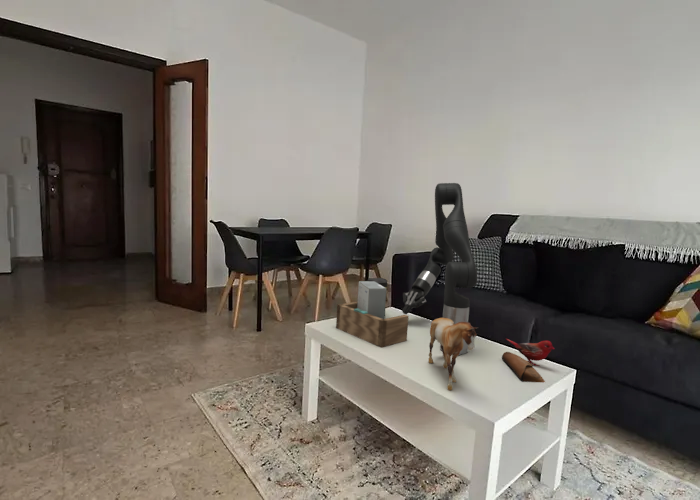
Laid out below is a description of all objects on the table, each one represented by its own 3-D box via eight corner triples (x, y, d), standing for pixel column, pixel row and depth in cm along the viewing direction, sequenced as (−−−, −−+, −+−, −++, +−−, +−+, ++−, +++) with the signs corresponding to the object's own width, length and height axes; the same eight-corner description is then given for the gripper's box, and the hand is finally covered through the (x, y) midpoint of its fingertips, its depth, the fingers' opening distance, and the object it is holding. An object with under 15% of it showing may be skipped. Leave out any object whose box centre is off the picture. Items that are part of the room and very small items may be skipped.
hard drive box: (383, 337, 160) (387, 288, 158) (365, 338, 158) (368, 288, 156) (372, 325, 175) (375, 280, 173) (355, 326, 173) (357, 280, 171)
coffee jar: (369, 320, 183) (372, 280, 181) (361, 315, 190) (364, 276, 188) (388, 318, 187) (390, 279, 185) (379, 313, 194) (382, 276, 192)
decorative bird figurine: (550, 372, 134) (553, 343, 133) (501, 355, 148) (504, 328, 147) (554, 370, 136) (557, 342, 135) (505, 353, 150) (508, 327, 149)
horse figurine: (473, 397, 113) (479, 327, 111) (445, 397, 113) (452, 325, 111) (443, 355, 144) (447, 299, 142) (421, 355, 144) (426, 298, 141)
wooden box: (406, 340, 158) (408, 314, 157) (381, 347, 149) (383, 319, 148) (360, 322, 178) (362, 299, 177) (336, 327, 169) (337, 303, 168)
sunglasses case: (548, 383, 126) (539, 364, 125) (527, 392, 126) (518, 374, 126) (524, 360, 144) (516, 344, 143) (506, 369, 144) (498, 353, 144)
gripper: (409, 275, 186) (389, 304, 179) (432, 280, 176) (412, 311, 169) (416, 285, 190) (396, 314, 183) (439, 291, 180) (419, 321, 173)
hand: (404, 313), depth 176 cm, fingers closed
